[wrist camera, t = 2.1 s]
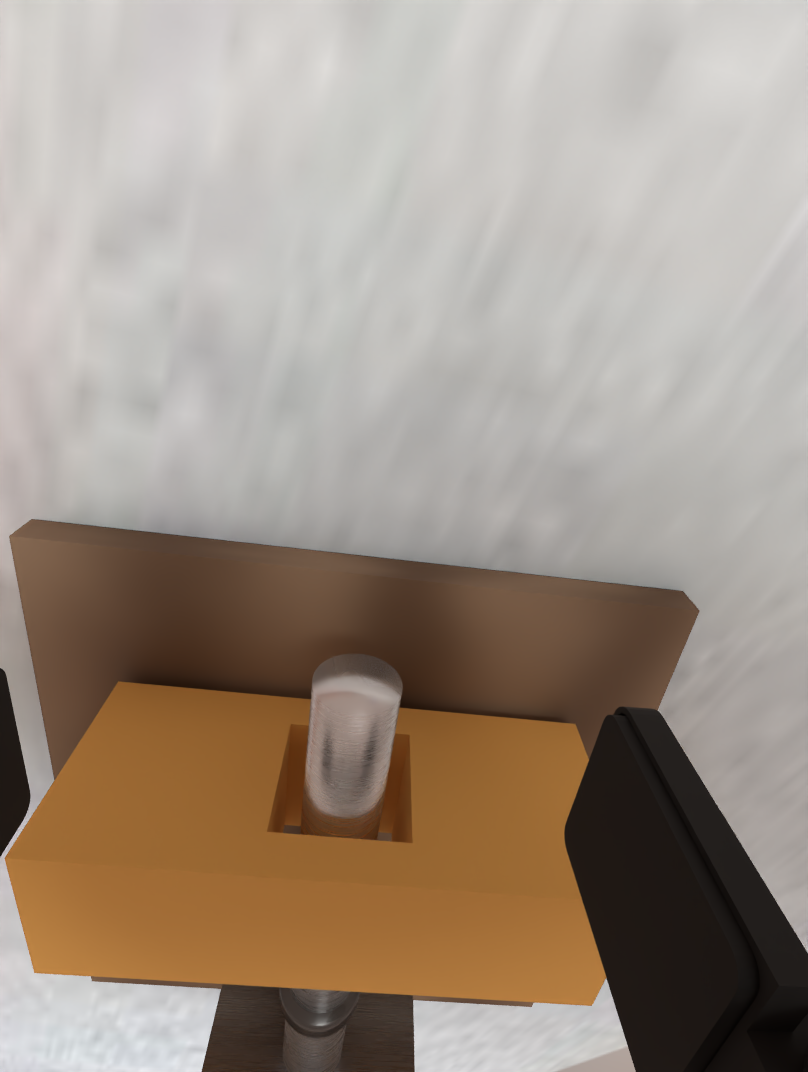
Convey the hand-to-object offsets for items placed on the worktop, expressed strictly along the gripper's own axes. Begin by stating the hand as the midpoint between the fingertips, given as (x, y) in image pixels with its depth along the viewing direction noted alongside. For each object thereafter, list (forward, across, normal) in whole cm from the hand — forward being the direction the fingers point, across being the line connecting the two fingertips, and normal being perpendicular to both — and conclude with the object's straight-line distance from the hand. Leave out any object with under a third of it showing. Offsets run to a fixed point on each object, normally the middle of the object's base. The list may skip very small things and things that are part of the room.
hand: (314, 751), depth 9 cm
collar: (+6, -1, +6) cm, 9 cm away
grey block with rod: (+6, -1, +11) cm, 12 cm away
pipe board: (+7, -1, +10) cm, 13 cm away
